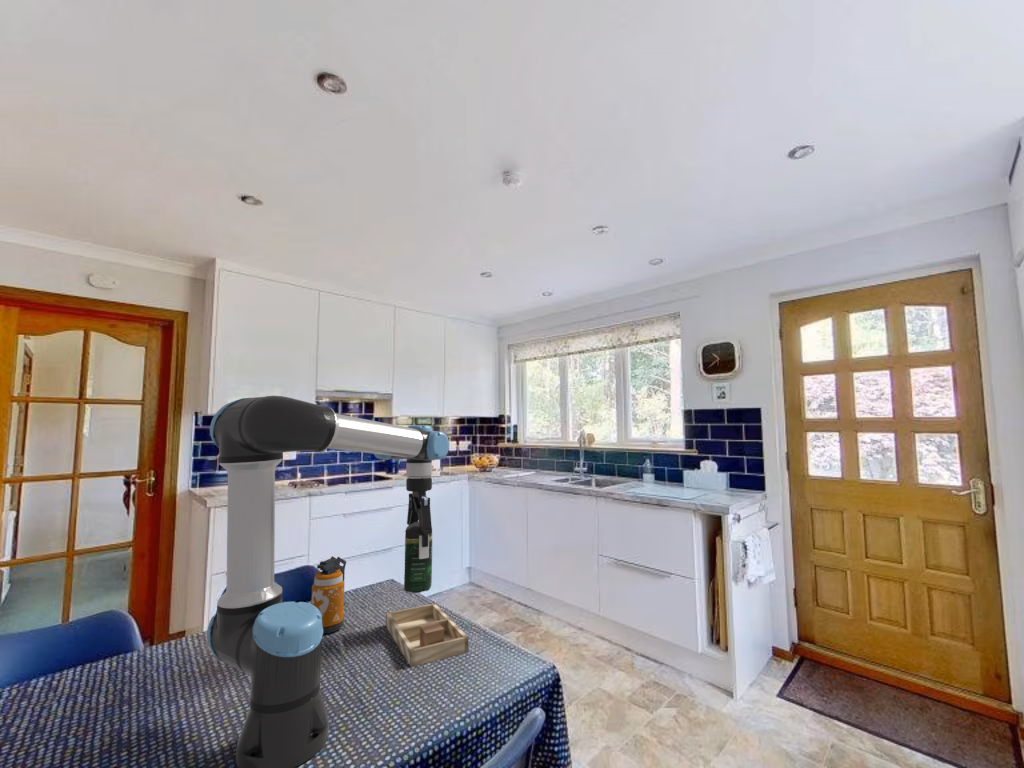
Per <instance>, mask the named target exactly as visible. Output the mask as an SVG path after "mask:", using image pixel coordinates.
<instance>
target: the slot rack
mask: <svg viewBox="0 0 1024 768" xmlns="http://www.w3.org/2000/svg"><path fill="white" fill-rule="evenodd" d="M435 622H438V623H439V624H440V625H441V626H442V627H443V628H444V642H440V643H436V644H432V645H427V646H423V647H420V626H422V625H426V624H431V623H435ZM385 627H386V628H387V630H388V633H390V635H391V636H392V638H393V641H394V643H396V645H397V646H398V649H399V650H400V652H401V653H402V655H403V656H404V658H405V660H406V662H407V663H408V665H409V666H410V668H414V667H417V666H421V665H424V664H428V663H432V662H435V661H439V660H443V659H447V658H450V657H451V658H452V657H454V656H458V655H463V654H465V653H469V636H468V635H467V634H466V633H465V632H464V631H463V630H462V629H461V627H459V626H458V625H457V624H456V623H455V622H454V621H453V620H452V619H451V618H450V617H449V616H448V615H447V614H446V613H445V612H444V611H443V610H442V609H441V608H440V607H439V606H438V605H437V604H436V603H429V604H424V605H420V606H414V607H409V608H404V609H399V610H394V611H389V612H386V613H385Z"/></svg>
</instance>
